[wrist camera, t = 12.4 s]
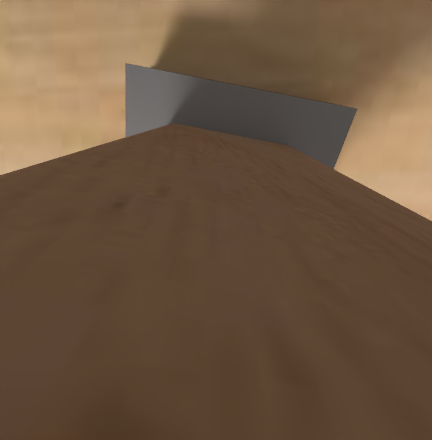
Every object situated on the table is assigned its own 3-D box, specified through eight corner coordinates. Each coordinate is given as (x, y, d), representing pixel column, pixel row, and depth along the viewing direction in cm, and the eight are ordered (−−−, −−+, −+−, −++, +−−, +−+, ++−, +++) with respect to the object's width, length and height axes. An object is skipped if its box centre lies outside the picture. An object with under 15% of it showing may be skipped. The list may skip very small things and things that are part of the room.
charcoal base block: (142, 232, 27) (124, 262, 22) (148, 72, 20) (122, 59, 15) (275, 252, 28) (289, 286, 23) (325, 106, 21) (361, 106, 16)
